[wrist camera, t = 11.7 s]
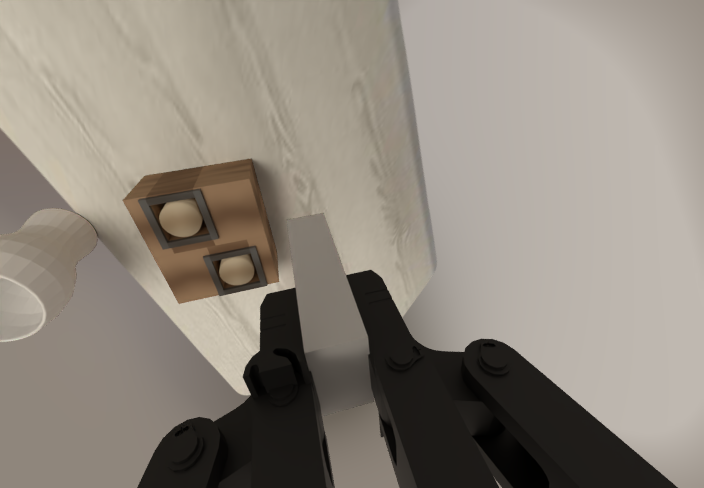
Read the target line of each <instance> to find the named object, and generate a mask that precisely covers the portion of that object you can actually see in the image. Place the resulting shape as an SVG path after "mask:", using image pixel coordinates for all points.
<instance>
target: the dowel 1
mask: <svg viewBox="0 0 704 488" xmlns="http://www.w3.org/2000/svg"><path fill="white" fill-rule="evenodd" d="M159 220H160V224H161V226H162V227H163V228H164V229H165V230H166V231H167V232H168V233H170V234H172V235H174V236H178V237H189V236H192V235H194V234H195V233H197V232H198V231H199V229H200V227H201V224H202V221H203V216H202V214H201V211H200V209H199V206H198V204H197V201H196V199H195V198H190V199H185V200H179V201H173V202H167V203H166V204H165V206H164V207H163V209H162V211H161V213H160V216H159Z"/></svg>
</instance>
